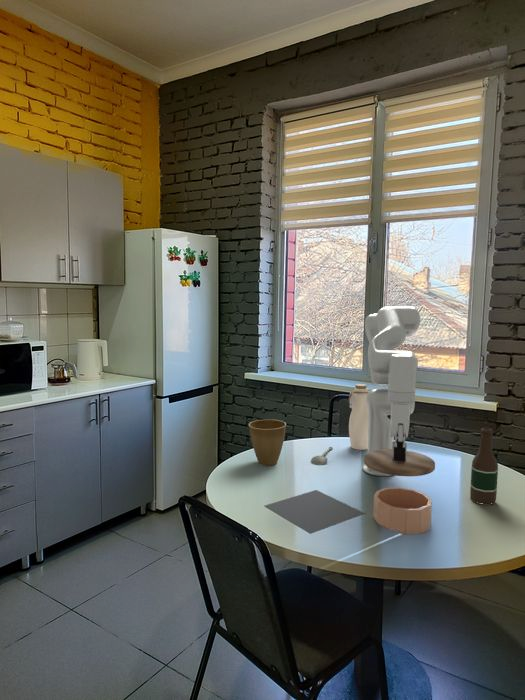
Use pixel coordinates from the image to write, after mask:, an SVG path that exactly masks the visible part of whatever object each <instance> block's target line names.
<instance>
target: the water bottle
mask: <svg viewBox="0 0 525 700" xmlns="http://www.w3.org/2000/svg"><path fill="white" fill-rule="evenodd" d="M354 386H355V387H354V389H353V390H350V392H349V397H348V406H349V409H350V408H351V412H350V416H349V420H348V435H349V441H350V448H352V449H354V450H360V451H361V450H363V451H364V450H368V409H367V394H368V393H369V392H370V391H371V390H369V389H368V386H367V384H363V383H356V384H355V385H354Z"/></svg>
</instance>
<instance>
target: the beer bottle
mask: <svg viewBox="0 0 525 700" xmlns="http://www.w3.org/2000/svg"><path fill="white" fill-rule="evenodd" d="M479 432H480V441H479V448H478V452H477V453H476V455H475V456H474V457H473V459H472V460H471V461H472V462H471V463H472V464H471V474H470V491H469V492H470V493H469V494H470V495H469V496H470V497H469V498H470V500H471V499H472V500H471V501H472V502H474V503H475V502H478V503H483V504H491V503H494V502H495V501H497V493H498V492H497V491H498V489H497V488H498V477H499V476H498V475H499V473H498V472H499V464H498V463H499V462H498V460H497V458H496V456H495V455H494V451H493V433H494V431H493V429H492V428H489V427H482V428H481V429H480V431H479ZM478 503H477V504H478ZM495 503H496V502H495ZM495 503H494V504H495Z"/></svg>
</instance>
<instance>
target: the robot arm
mask: <svg viewBox="0 0 525 700" xmlns="http://www.w3.org/2000/svg"><path fill="white" fill-rule="evenodd" d="M420 325H421V315H420V312H419V311H418V309H417V308H416V307H415V306H408V305H407V306H405V305H403V306H402V305H400V306H397V305H395V306H393V305H390V306H384V307H382V308H380V309H379V310H378V311H377V313H373V314H372V313H371V314H369V315H367V316H366V317H365V320H364V329H365V335H366V339H367V341H368V343H369V344H368V348H367V359H368V366H369V369H370V379H371V382H372V383H373V384H375V385H377V386H388V387H387V388H375V389H372V390H369V391H370V392H369V393H367V409H368V449H367V453H369V452H371V451H375V450H382V449H392V442H394V441H395V447H394V461H403V462H404V461H405V451H406V450H407V448H405V443H406V439H407V438H409V437H408V436H409V429H410V422H411V421H410V420H411V419H410V417H411V414H413V412H414V410H415V407H416V406H415V405H416V404H415V403H416V400H415V399H416V382H417V380H416V378H417V375H416V374H417V369H418V365H419V364H418V363H419V362H418V361H419V360H418V357H417V355H416V354H415V353H414V352H413V351H411V350H395V349H396V348H398V347H400V346H401V345H403V344H404V343H405V341H406V338H407V337H412V336H413V334H415V333H416V332H417V331H418V330H419V327H420ZM388 416H390V418H389V417H388ZM362 470H363V471H364V473H367V474H369V475H372V476H378V477H379V476H380V477H390V476H392V475H389V474H385V473H381V472H378V471H375V470H373V469H371V468H369V467H367V466H366V465H365V463H364V464H363V465H362Z"/></svg>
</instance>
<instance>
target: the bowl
mask: <svg viewBox="0 0 525 700" xmlns="http://www.w3.org/2000/svg"><path fill="white" fill-rule="evenodd" d="M432 506H433V500H432V498H431V497H430V496H428V495H427V494H425V493H423V492H421V491H418V490H416V489H412V488H406V487H385V488H382V489H381V488H380V489H378V490H377V491H376V492H375V494H374V495H373V514H372V515H373V519H374V520H375V521H376V523H377V524H378V525H380V526H382V527H384V528H386V529H388V530H391V531H395V532H399V534H403V535H420V534H423V533H425V532H427V531H430V529H431V526H430V525H432V511H433V510H432V509H433V508H432Z"/></svg>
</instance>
